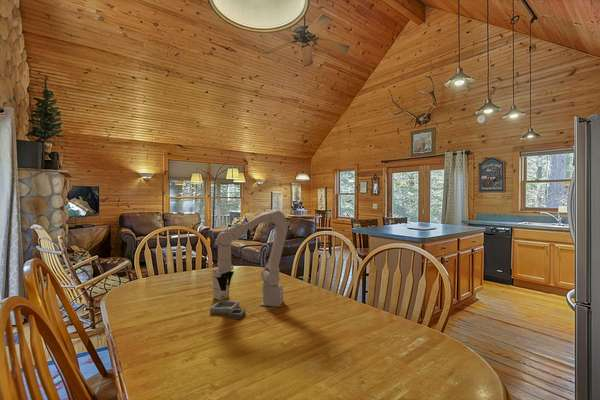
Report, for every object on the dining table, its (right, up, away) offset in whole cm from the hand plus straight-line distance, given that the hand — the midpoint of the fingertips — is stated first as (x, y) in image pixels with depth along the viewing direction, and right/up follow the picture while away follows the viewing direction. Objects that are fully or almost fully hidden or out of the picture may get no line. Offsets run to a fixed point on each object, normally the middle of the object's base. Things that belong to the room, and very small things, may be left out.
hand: (225, 289), depth 137 cm
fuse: (0, -2, 0) cm, 2 cm away
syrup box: (-6, -9, +18) cm, 21 cm away
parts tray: (0, -9, 0) cm, 9 cm away
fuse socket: (+7, -10, -7) cm, 13 cm away
